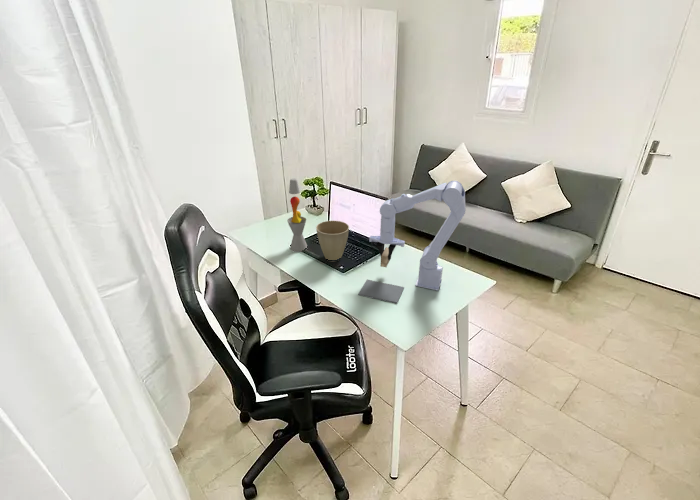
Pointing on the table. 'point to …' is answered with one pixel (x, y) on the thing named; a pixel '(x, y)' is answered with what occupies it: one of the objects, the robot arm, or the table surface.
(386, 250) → the wooden tile
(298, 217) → the lava lamp
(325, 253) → the plant pot
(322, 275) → the table surface
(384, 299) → the rubber mat
